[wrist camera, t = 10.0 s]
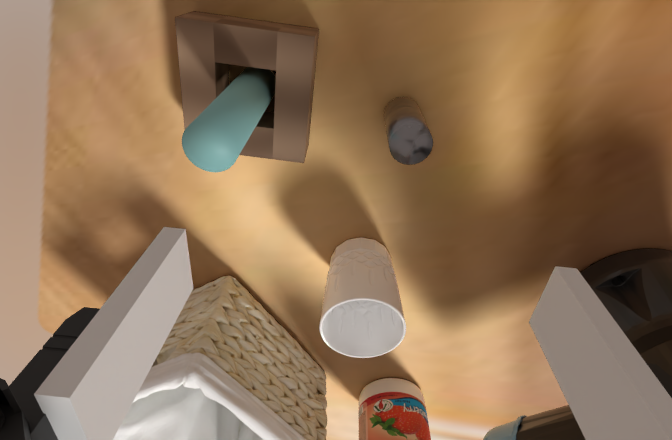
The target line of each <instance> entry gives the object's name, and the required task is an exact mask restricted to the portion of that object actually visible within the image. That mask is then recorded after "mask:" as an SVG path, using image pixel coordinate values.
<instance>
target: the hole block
mask: <svg viewBox="0 0 672 440" xmlns="http://www.w3.org/2000/svg"><path fill="white" fill-rule="evenodd" d="M175 23H176V35H177V46H178V58H179V69H180V81H181V92H182V104H183V115H184V127H185V129H186V128H187V127H188V126H189V125H190V124H191V123H192V122H193V121H194V120H195V119H196V118H197V117H198V116H199V115H200V114H201V113H202V112H203V111H204V110H205V109H206V108H207V107H208V106H209V105H210V104H211V103H212V102H213V101H214V100H215V99H216V98H217V97H218V96H219V95H220V94H221V93H222V92H223V91H224V90H225V89H226V88H227V87H228V86H229V64H232V65H239V66H246V67H254V68H261V69H268V70H276V83H275V109H274V112H269V111H265V112H264V113H263V115H262V117H261V119H260V120H259V122H258V124H257V125H256V127H255V129H254V130H253V132H252V134H251V136H250V137H249V139H248V141H247V142H246V144H245V146H244V147H243V149H242V151H241V153H240V154H239V155H244V156H252V157H260V158H268V159H276V160H283V161H291V162H299V163H304V161H305V157H306V153H307V149H308V145H309V134H310V123H311V112H312V101H313V90H314V79H315V68H316V57H317V46H318V35H319V29H317V28H310V27H303V26H296V25H289V24H281V23H274V22H267V21H260V20H253V19H246V18H238V17H231V16H224V15H217V14H210V13H203V12H196V11H193V12H190V13H187V14H184V15H181V16H177V17H175Z"/></svg>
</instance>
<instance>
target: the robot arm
mask: <svg viewBox="0 0 672 440" xmlns="http://www.w3.org/2000/svg"><path fill="white" fill-rule="evenodd" d="M192 290H193V281H192V274H191V266H190V259H189V251H188V244H187V236H186V229H180V228H170V227H163V229H162V230H161V231H160V233H159V234H158V235H157V236H156V238H155V239H154V240H153V242H152V243H151V244H150V245H149V247H148V248H147V249H146V251H145V252H144V253H143V255H142V256H141V257H140V258H139V260H138V261H137V262H136V264H135V265H134V266H133V267H132V269H131V270H130V271H129V273H128V274H127V275H126V276H125V278H124V279H123V280H122V282H121V283H120V284H119V285H118V287H117V288H116V289H115V291H114V292H113V293H112V294H111V296H110V297H109V298H108V300H107V301H106V302H105V303H104V305H103V306H102V307H101V309H97V308H87V307H84V308H82V309H81V310H79V311H78V312H76V313H75V314H73V315H72V316H70V317H69V318H67V319H66V320H65V321H64V322H63V324H62V325H61V326H60V327H59V328H58V329H57V331H56V332H55V333H54V334H53V337H51V338H50V339H49V340H48V341H47V342H46V343H45V345H44V346H43V349H42V350H39V352H38V353H37V354H36V355H35V356H34V358H33V359H32V360H31V361H30V362H29V363H28V365H27V366H26V367H25V368H24V369H23V370H22V372H21V373H20V374H19V375H18V376H17V378H16V379H15V380H14V381H13V382H12V384H11V385H10V386H8V385H7V383H6V381H5V380H3V379H1V378H0V440H113V438H114V436H115V435H116V433H117V431H118V429H119V427H120V425H121V423H122V421H123V420H124V418H125V416H126V414H127V412H128V410H129V408H130V406H131V405H132V403H133V401H134V399H135V397H136V395H137V393H138V391H139V389H140V388H141V386H142V384H143V382H144V380H145V378H146V376H147V374H148V373H149V371H150V369H151V367H152V365H153V363H154V361H155V359H156V358H157V356H158V354H159V352H160V350H161V348H162V346H163V344H164V343H165V341H166V339H167V337H168V335H169V333H170V331H171V329H172V328H173V326H174V324H175V322H176V320H177V318H178V316H179V314H180V312H181V311H182V309H183V307H184V305H185V303H186V301H187V299H188V297H189V296H190V294H191V292H192ZM529 323H530V325H531V327H532V329H533V331H534V334H535V336H536V338H537V340H538V342H539V344H540V346H541V348H542V350H543V352H544V354H545V356H546V358H547V361H548V363H549V365H550V367H551V369H552V371H553V373H554V375H555V377H556V379H557V381H558V383H559V385H560V388H561V390H562V392H563V394H564V396H565V398H566V400H567V402H568V404H569V405H567V406H563V407H560V408H556V409H553V410H549V411H546V412H542V413H539V414H535V415H532V416H528V417H527V416H525V415H524V416H520V417H518V418H517V420H515V421H513V422H510V423H507V424H504V425H501V426H498V427H495V428H493V429H491V430H490V431H489V432H488V433H487V434H486V435H485V437H484V439H483V440H672V251H669V250H663V249H638V250H632V251H627V252H622V253H619V254H616V255H613V256H610V257H608V258H605V259H603V260H601V261H599V262H597V263H595V264H593V265H591V266H590V267H588V268H586V269H585V270H584V271H582V272H581V273H580V272H579V271H578V269H577V268H567V267H558V266H555V268H554V270H553V272H552V274H551V276H550V278H549V281H548V283H547V285H546V287H545V289H544V291H543V293H542V295H541V297H540V300H539V302H538V304H537V306H536V308H535V310H534V312H533V314H532V317H531V319H530V321H529Z"/></svg>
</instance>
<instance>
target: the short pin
mask: <svg viewBox="0 0 672 440" xmlns="http://www.w3.org/2000/svg"><path fill="white" fill-rule="evenodd" d="M384 122H385V127H386V132H387V137H388V143H389V148H390V152H391V154H392V156H393V157H394V159H395V160H397V161H398V162H400V163H402V164H407V165H412V164H417V163H419V162H421V161H423V160H424V159H425V158H427V156H428V155H429V154H430V152H431V150H432V147H433V139H432V136H431V133H430V131H429V129H428V127H427V124H426V122H425V120H424V118H423V115H422V113H421V111H420V109H419V106H418V104H417V103H416V102H415V101H414V100H413V99H411V98H409V97H397V98H395V99H393V100H391V101H390V102H389V103H388V104H387V106H386V108H385V110H384Z"/></svg>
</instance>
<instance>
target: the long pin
mask: <svg viewBox="0 0 672 440" xmlns="http://www.w3.org/2000/svg"><path fill="white" fill-rule="evenodd" d="M275 83H276V77H275V75H274V74H273V72H272V71H271V70H268V69H261V68H254V67H247V68H245V69H244V70H243V71H242V72H241V73H240V75H239V76H238V77H237V78H236V79H235V80H234V81H233V82H232V83H231V84H230V85H229V86H228V87H227V88H226V89H225V90H224V91H223V92H222V93H221V94H220V95H219V96H218V97H217V98H216V99H215V100H214V101H213V102H212V103H211V104H210V105H209V106H208V107H207V108H206V109H205V110H204V111H203V112H202V113H201V114H200V115H199V116H198V117H197V118H196V119H195V120H194V121H193V122H192V123H191V124H190V125H189V126H188V127H187V128H186V129H185V131H184V133H183V136H182V146H183V150H184V152H185V154H186V156H187V157H188V159H189V160H190V161H191V162H192V163H193V164H194V165H196V166H197V167H199V168H201V169H203V170H205V171H209V172H221V171H225V170H227V169H228V168H230V167H231V166H232V165H233V164H234V163H235V161H236V159H237V158H238V156H239V154H240V153H241V151H242V149H243V147H244V146H245V144H246V142H247V141H248V139H249V137H250V136H251V134H252V132H253V130H254V129H255V127H256V125H257V124H258V122H259V120H260V119H261V117H262V115H263V113H264V112H265V110H266V108H267V107H268V105H269V103H270V102H271V100H272V98H273V96H274V95H275Z"/></svg>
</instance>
